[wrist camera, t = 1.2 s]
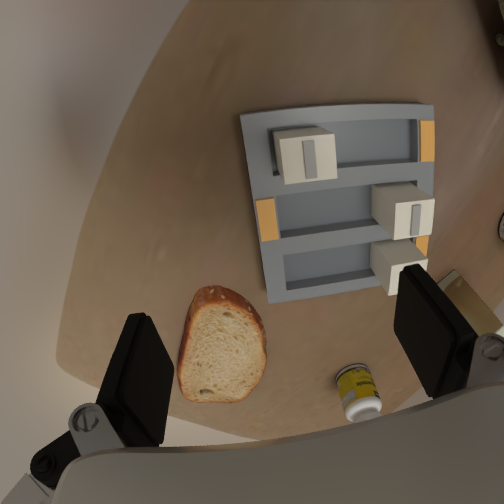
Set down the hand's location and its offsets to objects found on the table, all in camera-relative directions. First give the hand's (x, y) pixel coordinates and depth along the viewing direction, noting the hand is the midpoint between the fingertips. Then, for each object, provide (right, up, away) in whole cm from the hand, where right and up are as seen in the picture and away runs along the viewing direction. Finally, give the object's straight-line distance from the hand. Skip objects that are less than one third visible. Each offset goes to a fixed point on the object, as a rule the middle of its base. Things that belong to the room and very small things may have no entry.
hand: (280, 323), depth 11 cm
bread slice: (-6, -11, +30) cm, 32 cm away
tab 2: (+14, +3, +21) cm, 25 cm away
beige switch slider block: (+3, +12, +16) cm, 20 cm away
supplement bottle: (+14, -16, +33) cm, 39 cm away
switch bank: (+8, +8, +19) cm, 23 cm away
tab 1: (+13, +8, +18) cm, 24 cm away
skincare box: (+26, -3, +26) cm, 37 cm away
